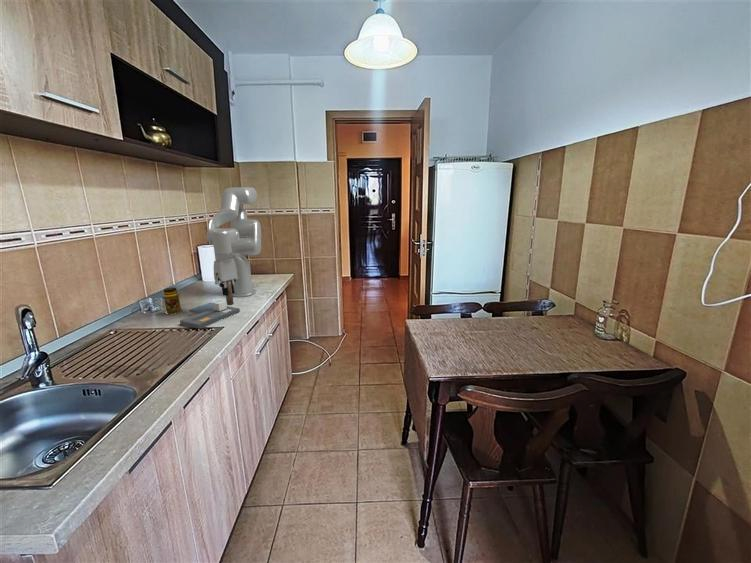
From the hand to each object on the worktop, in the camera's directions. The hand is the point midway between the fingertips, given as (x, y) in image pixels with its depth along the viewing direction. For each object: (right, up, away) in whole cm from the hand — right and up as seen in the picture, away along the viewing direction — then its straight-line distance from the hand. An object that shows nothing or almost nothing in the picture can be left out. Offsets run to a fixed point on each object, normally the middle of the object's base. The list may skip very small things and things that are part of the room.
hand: (228, 294), depth 162 cm
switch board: (-4, -11, -9) cm, 14 cm away
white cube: (-2, -7, -4) cm, 8 cm away
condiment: (-27, -9, +1) cm, 29 cm away
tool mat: (-13, -7, +5) cm, 16 cm away
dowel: (0, -5, +1) cm, 5 cm away
